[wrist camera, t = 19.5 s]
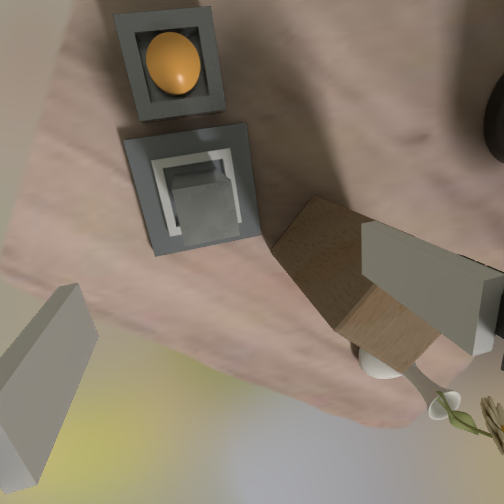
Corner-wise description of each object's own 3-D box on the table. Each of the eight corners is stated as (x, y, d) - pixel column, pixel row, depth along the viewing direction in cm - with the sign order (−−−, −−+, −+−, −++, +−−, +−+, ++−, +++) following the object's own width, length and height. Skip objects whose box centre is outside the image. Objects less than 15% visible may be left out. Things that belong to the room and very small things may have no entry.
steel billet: (215, 167, 37) (231, 179, 26) (222, 208, 39) (240, 235, 28) (173, 174, 36) (171, 190, 25) (183, 215, 38) (184, 246, 27)
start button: (193, 39, 32) (194, 29, 29) (202, 93, 34) (204, 89, 31) (143, 44, 31) (139, 34, 28) (155, 99, 33) (153, 95, 30)
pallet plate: (244, 122, 37) (248, 121, 35) (259, 232, 42) (263, 237, 40) (124, 140, 35) (121, 140, 33) (155, 253, 40) (154, 259, 38)
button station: (207, 20, 33) (210, 5, 29) (221, 112, 36) (226, 109, 33) (120, 28, 32) (112, 14, 28) (143, 123, 35) (139, 121, 31)
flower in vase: (418, 348, 57) (581, 490, 34) (365, 381, 57) (492, 545, 34) (399, 296, 52) (574, 421, 29) (340, 331, 52) (470, 486, 29)
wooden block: (268, 250, 44) (332, 331, 25) (313, 193, 42) (415, 234, 24) (317, 285, 47) (404, 377, 29) (359, 233, 46) (479, 295, 28)
